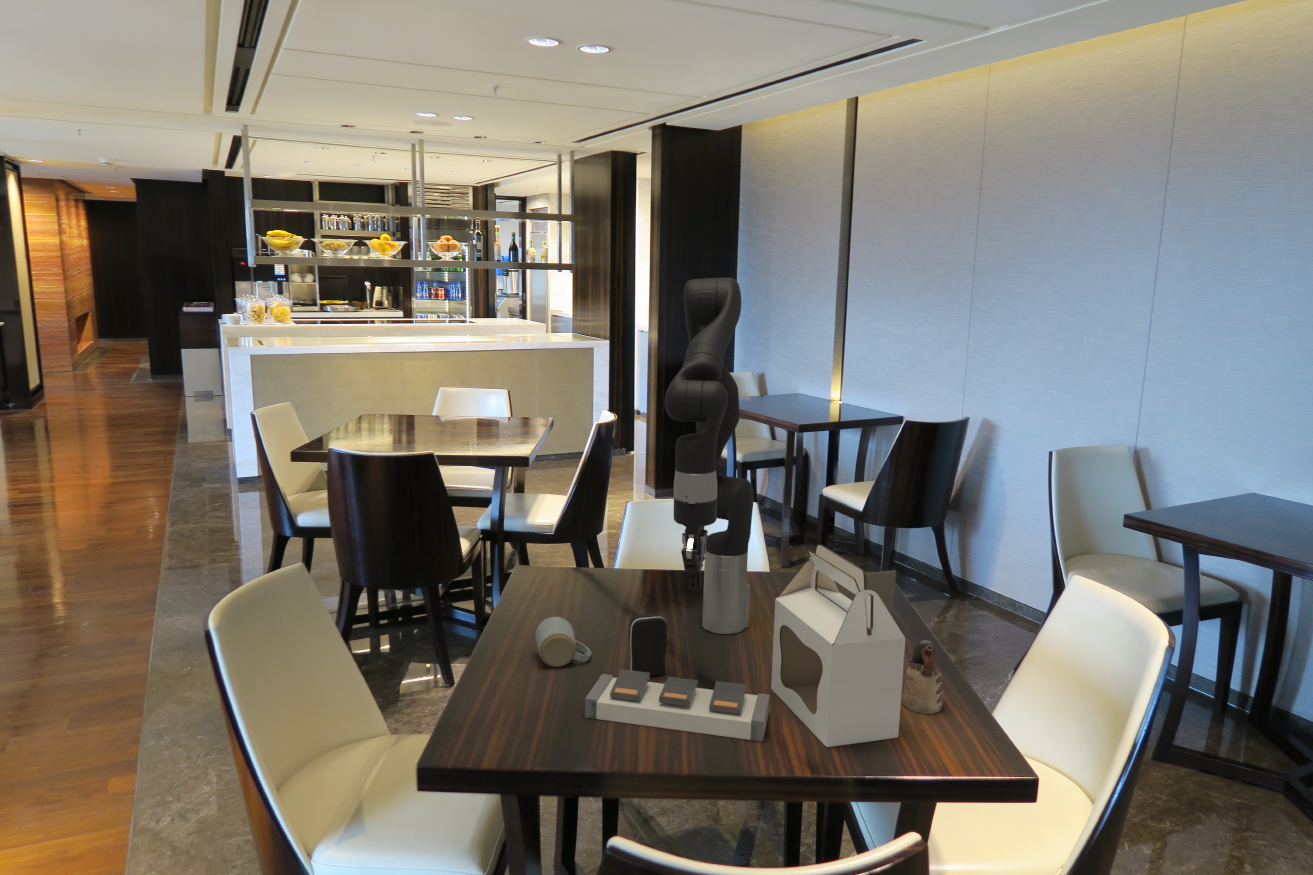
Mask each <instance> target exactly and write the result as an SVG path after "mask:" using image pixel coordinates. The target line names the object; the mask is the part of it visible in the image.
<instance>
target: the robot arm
mask: <svg viewBox="0 0 1313 875" xmlns="http://www.w3.org/2000/svg"><path fill="white" fill-rule="evenodd" d="M741 293H742V292H741V287H740V284H739V282H738V281H737V279H735V278H733V277H709V278H695V279H694V278H693V279H689V280H687V281H686V283H685V285H684V287H683V307H684V316H685V323H686V328H687V330H686V332H687V336H688V342H689V343H688V344H689V345H688V346H687V349H686V350H685V355H684V360H683V364H682V367H681V368H680V370H679V371H678V372H677V374H676V375H675V376H674V377H673V379H672V380H671V382H670V383H669V385H668V387H667V390H666V392H665V396H664V408H665V412H666V414H667V415H668V417H670V418H671V419H673V420H674V421H676V422H691V423H692V422H695V426H696V432H694V433H688V434H683V435H681V436H679V437H678V438H677V439H676V442H675V454H674V455H675V457H674V458H675V464H674V465H675V469H674V470H675V471H674V480H673V521H674V522H675V523H677V524H678V525H681V526H684V527H685V529H684V532H682V533H681V534H682V535H681V544H683V547H682V548H681V550H680V551H681V552H680V554H681V557H682V561H683V568H684V571H686V572H687V590H688V591H690V592H699V591H700V590H701V588H702V569H703V567H704V569H703V570H704V571H703V574H704V575H703V594H702V595H703V596H702V599H703V600H702V624H701V626H702V627H703V629H705V630H706V631H708V632H711V633H714V634H720V635H732V634H738V633H741V632H742V631H744V629H746V628H749V624H750V601H751V598H750V597H751V585H750V584H748V583H747V579H748V560H749V558H748V556H749V554H748V553H749V543H750V539H751V533H752V532H751V531H752V519H753V510H754V498H755V496H754V495H755V494H754V488H753V485H752V482H750V480H748V479H746V478H741V477H734V476H728V475H723V474H722V470H721V463H722V462H721V459H722V455H723V451H724V449H725V447H726V445H727V443H728V442H729V440H730V438H731V437H732V435H733V433H734V432H735V430H736V428H737V426H738V424H739V422H740V416H741V415H740V413H741V412H740V410H741V409H740V396H739V395H740V394H739V386H738V384H737V382H736V380H735V378H734V377H733V376H732V374H731V373H730V371H729V370H728V369H727V368H726V366H725V365H724V362H725V356H726V352H727V348H728V346H729V344H730V341H731V339H732V337H733V335H734V334H735V333H734V332H735V330H736V328H737V325H738V323H739V320H740V316H741V312H742V294H741ZM718 519H720V520H724V521H727V526H726V527H727V528H726V530H722V531H715V532H713V533H710V534H708V529H705V527H707V526H710V525H713V524H714V523H716V521H717V520H718ZM703 562H704V563H703Z"/></svg>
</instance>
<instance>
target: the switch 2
mask: <svg viewBox="0 0 1313 875" xmlns="http://www.w3.org/2000/svg"><path fill="white" fill-rule="evenodd" d="M713 690H714V691H713V694H712V698H711V701H710V705H709V711H717V712H724V713H732V714H740V715H741V711H742V707H743V702H744V697H745V694H747V693H746V692H747V684H745V683H736V682H729V681H728V682H727V681H723V680H722V681H720V680H715V685H714V687H713Z"/></svg>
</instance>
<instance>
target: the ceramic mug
mask: <svg viewBox="0 0 1313 875" xmlns="http://www.w3.org/2000/svg"><path fill="white" fill-rule="evenodd" d="M534 635H535V636H534V637H535V642H536V647H537V652H538V655H539V657H540V659H541V660H542V661H543V663H544V664H545V665H547V666H550V667H552V668H560V667H561V668H562V667H564V666H566V665H568V664H569V663H570V662H572V661H573V660H575V661H576V662H582V663H586V662H588V661H590V658H591V656H592V651H591V649H590V647H588V646H586V644H584V643H582V642H580V641H579V640H576V638H575V637H576V636H575V631H574V628H573V625H572V624H571V623H570V622H569V621H568V620H567V619H565V618H563V617H560V616H551V617H548V618H545V619H544V620H542V621H541V622H540V623H539V624H538V626H537V628H536V630H535V634H534ZM577 651H579V652H577Z"/></svg>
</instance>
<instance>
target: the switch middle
mask: <svg viewBox="0 0 1313 875" xmlns="http://www.w3.org/2000/svg"><path fill="white" fill-rule="evenodd" d="M664 684H665V685H664V687H663V689H662V692H661V694H660V696H659V702H661V703H668V704H676V705H684V706H690V704H691V701H692V699H693V696H694V693H695V691H696V688H698V680H697V679H691V678H683V677H673V676H667V678H666V680H665V682H664Z"/></svg>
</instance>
